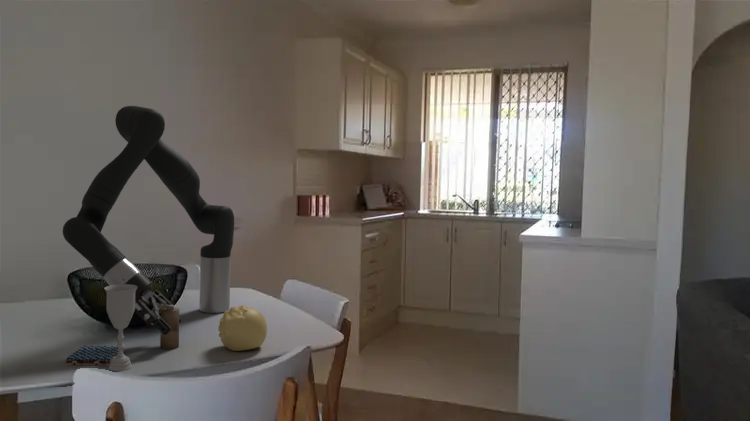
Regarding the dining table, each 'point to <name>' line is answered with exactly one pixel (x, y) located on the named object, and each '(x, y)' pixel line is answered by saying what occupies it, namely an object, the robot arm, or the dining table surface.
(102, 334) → the dining table surface
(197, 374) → the dining table surface
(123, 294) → the chalice
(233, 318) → the sculpture
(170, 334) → the walnut pepper mill
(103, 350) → the woven mat
